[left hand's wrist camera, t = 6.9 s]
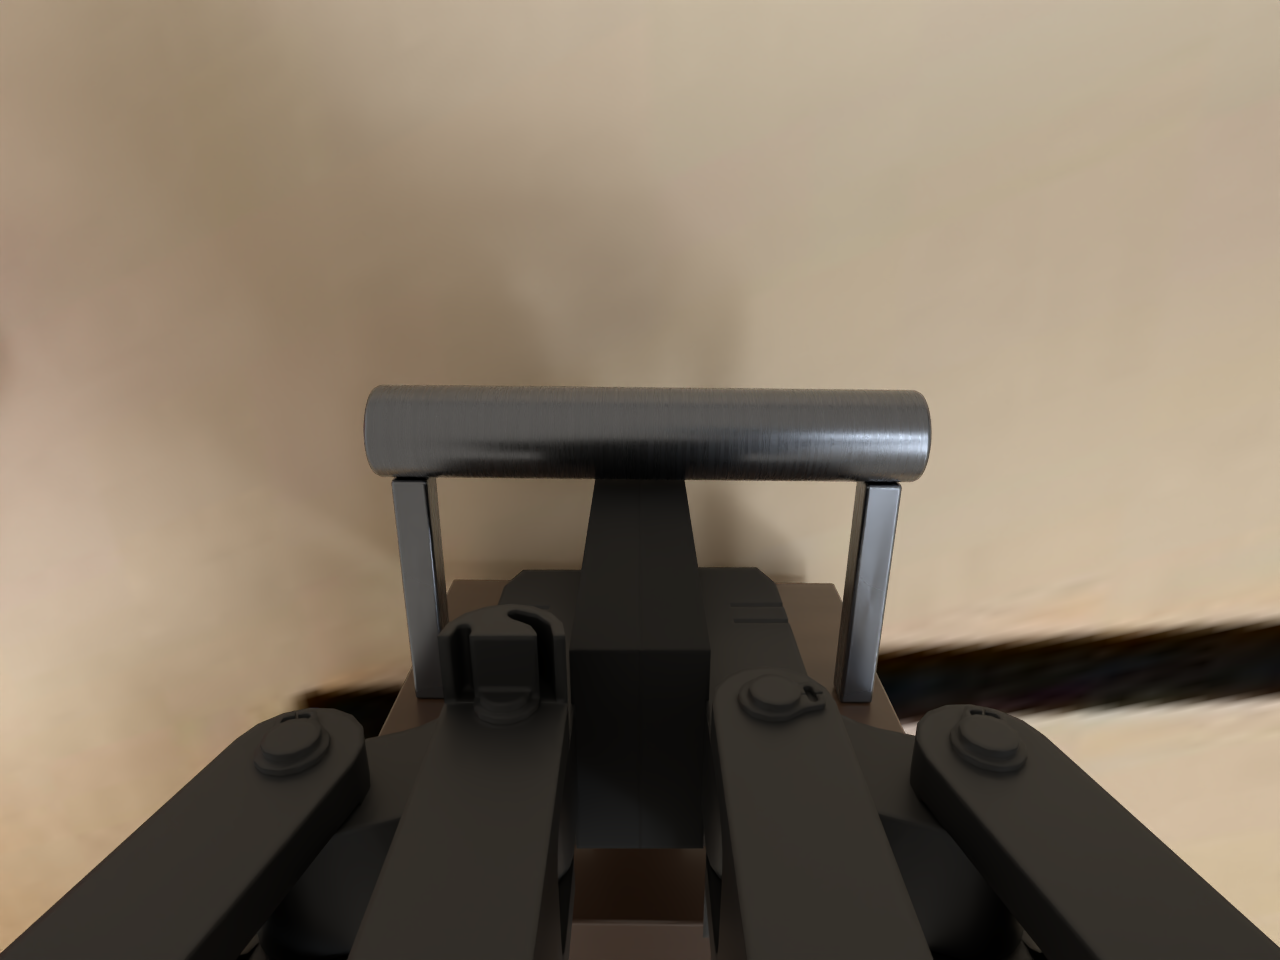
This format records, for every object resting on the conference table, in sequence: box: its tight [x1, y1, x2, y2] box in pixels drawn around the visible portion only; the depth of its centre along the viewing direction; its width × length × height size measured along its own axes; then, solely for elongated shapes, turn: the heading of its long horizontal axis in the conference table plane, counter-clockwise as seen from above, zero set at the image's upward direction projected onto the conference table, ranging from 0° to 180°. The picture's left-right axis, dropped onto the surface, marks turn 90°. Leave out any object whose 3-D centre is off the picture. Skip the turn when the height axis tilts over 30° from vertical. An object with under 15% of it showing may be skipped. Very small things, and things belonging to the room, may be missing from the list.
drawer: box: [364, 385, 931, 960], centre depth 16 cm, size 25×9×9 cm, turn 179°
